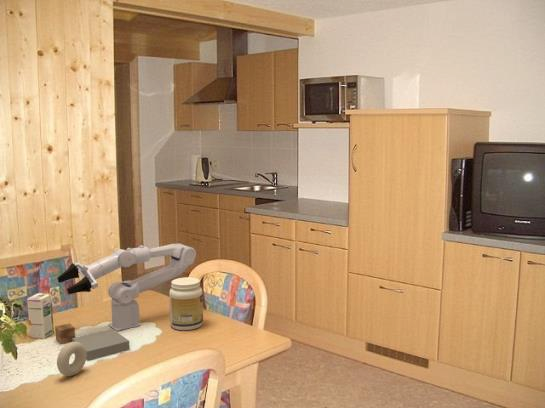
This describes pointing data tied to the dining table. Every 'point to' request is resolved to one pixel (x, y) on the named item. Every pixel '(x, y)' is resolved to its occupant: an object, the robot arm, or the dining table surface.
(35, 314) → the syrup box
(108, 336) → the slate plinth
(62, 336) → the walnut block
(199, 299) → the supplement tub
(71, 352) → the donut
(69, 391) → the dining table surface
